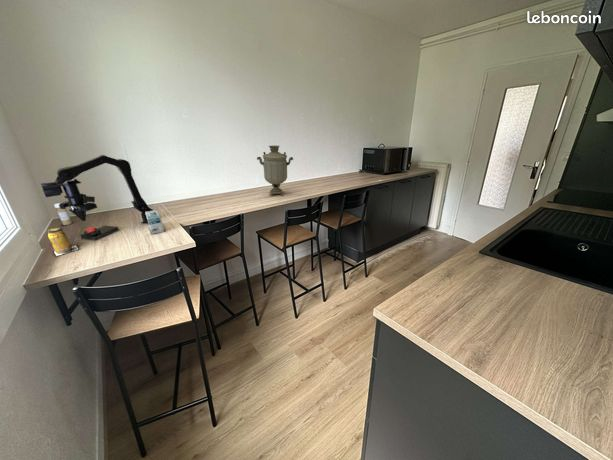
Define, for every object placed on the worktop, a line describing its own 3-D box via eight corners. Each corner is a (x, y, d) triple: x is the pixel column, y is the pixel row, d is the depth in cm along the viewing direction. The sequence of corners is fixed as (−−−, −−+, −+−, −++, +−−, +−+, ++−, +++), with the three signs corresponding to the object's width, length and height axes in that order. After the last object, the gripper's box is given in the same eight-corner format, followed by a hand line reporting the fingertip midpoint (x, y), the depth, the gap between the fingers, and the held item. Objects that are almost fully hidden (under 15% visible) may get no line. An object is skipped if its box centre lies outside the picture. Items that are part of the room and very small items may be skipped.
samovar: (298, 190, 229) (297, 144, 213) (290, 198, 206) (288, 147, 190) (267, 188, 236) (264, 143, 219) (256, 196, 212) (251, 146, 196)
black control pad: (119, 230, 149) (116, 224, 147) (95, 240, 136) (92, 234, 134) (105, 228, 151) (103, 222, 149) (80, 239, 138) (78, 232, 136)
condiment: (54, 251, 125) (43, 229, 120) (75, 245, 131) (66, 224, 126) (56, 256, 121) (45, 233, 116) (79, 249, 127) (69, 228, 122)
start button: (98, 230, 140) (96, 227, 139) (91, 233, 136) (89, 229, 135) (92, 229, 141) (91, 226, 140) (85, 232, 137) (83, 229, 136)
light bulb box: (164, 231, 146) (160, 214, 142) (151, 234, 143) (146, 216, 138) (162, 225, 154) (157, 209, 150) (149, 228, 151) (144, 211, 146)
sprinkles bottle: (73, 222, 161) (64, 202, 155) (70, 224, 157) (62, 204, 152) (64, 223, 159) (55, 203, 154) (61, 225, 155) (52, 205, 150)
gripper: (101, 190, 135) (111, 216, 142) (75, 188, 140) (86, 214, 146) (80, 195, 126) (91, 224, 132) (52, 193, 130) (65, 221, 136)
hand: (84, 220), depth 137 cm, fingers closed
